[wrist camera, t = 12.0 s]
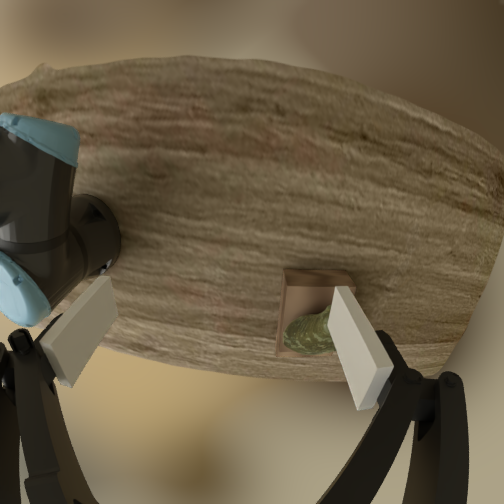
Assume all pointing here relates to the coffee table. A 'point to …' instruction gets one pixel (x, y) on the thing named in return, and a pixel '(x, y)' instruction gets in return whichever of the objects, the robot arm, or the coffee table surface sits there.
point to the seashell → (310, 334)
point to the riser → (306, 299)
